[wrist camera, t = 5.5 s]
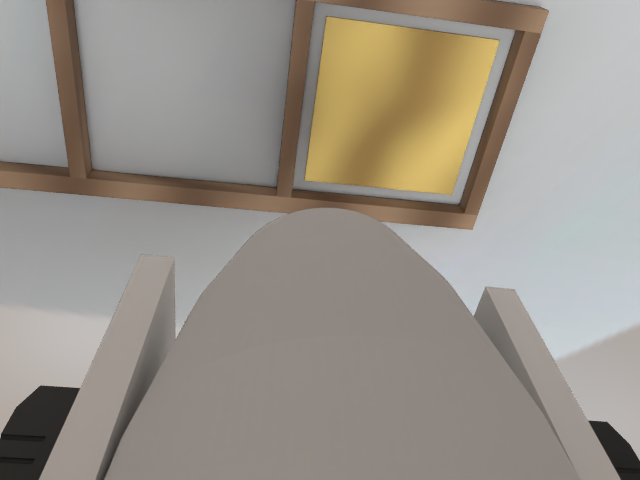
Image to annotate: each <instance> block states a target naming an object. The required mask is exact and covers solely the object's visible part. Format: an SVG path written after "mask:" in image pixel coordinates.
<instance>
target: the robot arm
mask: <svg viewBox="0 0 640 480" xmlns="http://www.w3.org/2000/svg"><path fill="white" fill-rule="evenodd" d="M474 318H475V319H476V321H477V322H478V323H479V325H480V326H481V328H482V329H483V330H484V332H485V333H486V335H487V336H488V337H489V339H490V340H491V342H492V343H493V344H494V346H495V347H496V349H497V350H498V351H499V353H500V354H501V355H502V357H503V358H504V360H505V361H506V362H507V364H508V365H509V367H510V368H511V369H512V371H513V372H514V374H515V375H516V376H517V378H518V379H519V381H520V382H521V383H522V385H523V386H524V387H525V389H526V390H527V392H528V393H529V394H530V396H531V397H532V399H533V400H534V401H535V403H536V404H537V406H538V407H539V408H540V410H541V411H542V413H543V414H544V416H545V418H546V419H547V421H548V423H549V425H550V427H551V428H552V430H553V432H554V434H555V435H556V437H557V439H558V441H559V443H560V444H561V446H562V448H563V450H564V452H565V453H566V455H567V457H568V459H569V460H570V462H571V464H572V466H573V468H574V469H575V471H576V473H577V475H578V477H579V478H580V480H640V461H639V459H638V457H637V456H636V454H635V452H634V451H633V449H632V447H631V446H630V444H629V443H628V442H627V441H626V440H625V439H624V438H623V437H622V436H621V435H620V434H619V433H618V432H617V431H616V430H615V429H614V428H613V427H612V426H611V425H610V424H609V423H607V422H601V421H588V420H587V418H586V416H585V415H584V413H583V411H582V409H581V407H580V406H579V404H578V402H577V400H576V398H575V397H574V395H573V393H572V391H571V389H570V388H569V386H568V384H567V382H566V381H565V379H564V377H563V375H562V373H561V372H560V370H559V368H558V366H557V364H556V363H555V361H554V359H553V357H552V355H551V354H550V352H549V350H548V348H547V347H546V345H545V343H544V341H543V339H542V338H541V336H540V334H539V332H538V330H537V329H536V327H535V325H534V323H533V321H532V320H531V318H530V316H529V314H528V313H527V311H526V309H525V307H524V305H523V304H522V302H521V300H520V298H519V296H518V295H517V293H516V291H515V289H506V288H496V287H485V289H484V292H483V295H482V297H481V300H480V302H479V305H478V307H477V310H476V312H475V315H474ZM175 340H176V339H175V275H174V257H164V256H153V255H142V254H141V256H140V258H139V260H138V262H137V265H136V267H135V269H134V271H133V273H132V276H131V278H130V280H129V282H128V284H127V287H126V289H125V291H124V293H123V295H122V298H121V300H120V302H119V304H118V306H117V309H116V311H115V313H114V315H113V317H112V320H111V322H110V324H109V327H108V329H107V331H106V333H105V335H104V337H103V340H102V342H101V344H100V346H99V348H98V350H97V353H96V355H95V357H94V359H93V361H92V364H91V366H90V368H89V371H88V373H87V375H86V377H85V379H84V381H83V384H82V386H81V388H69V387H54V386H40V387H38V388H37V389H36V390H35V391H34V392H33V393H32V394H31V395H30V396H29V397H27V398H26V399H25V400H24V401H23V402H22V403H21V404H19V405H18V406H17V407H16V409H15V410H14V412H13V414H12V416H11V417H10V419H9V421H8V423H7V425H6V426H5V428H4V430H3V432H2V433H1V438H0V480H104V479H105V476H106V474H107V471H108V469H109V466H110V464H111V462H112V459H113V457H114V454H115V452H116V450H117V447H118V445H119V442H120V440H121V438H122V436H123V434H124V432H125V430H126V429H127V427H128V425H129V423H130V421H131V420H132V418H133V416H134V414H135V412H136V410H137V409H138V407H139V405H140V403H141V401H142V400H143V398H144V396H145V394H146V392H147V391H148V389H149V387H150V385H151V383H152V381H153V380H154V378H155V376H156V374H157V372H158V371H159V369H160V367H161V365H162V363H163V362H164V360H165V358H166V356H167V354H168V352H169V351H170V349H171V347H172V345H173V343H174V342H175Z"/></svg>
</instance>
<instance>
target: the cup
mask: <svg viewBox="0 0 640 480" xmlns="http://www.w3.org/2000/svg"><path fill="white" fill-rule="evenodd" d="M104 480H580V478H579V477H578V475H577V473H576V471H575V469H574V468H573V466H572V464H571V462H570V460H569V459H568V457H567V455H566V453H565V452H564V450H563V448H562V446H561V444H560V443H559V441H558V439H557V437H556V435H555V434H554V432H553V430H552V428H551V427H550V425H549V423H548V421H547V419H546V418H545V416H544V414H543V413H542V411H541V410H540V408H539V407H538V406H537V404H536V403H535V401H534V400H533V399H532V397H531V396H530V394H529V393H528V392H527V390H526V389H525V387H524V386H523V385H522V383H521V382H520V381H519V379H518V378H517V376H516V375H515V374H514V372H513V371H512V369H511V368H510V367H509V365H508V364H507V362H506V361H505V360H504V358H503V357H502V355H501V354H500V353H499V351H498V350H497V349H496V347H495V346H494V344H493V343H492V342H491V340H490V339H489V337H488V336H487V335H486V333H485V332H484V330H483V329H482V328H481V326H480V325H479V323H478V322H477V321H476V319H475V318H474V317H473V315H472V314H471V312H470V311H469V310H468V308H467V307H466V305H465V304H464V303H463V301H462V300H461V298H460V297H459V296H458V294H457V293H456V291H455V290H454V289H453V287H452V286H451V285H450V284H449V282H448V281H447V280H446V279H445V278H444V277H443V276H442V275H441V274H440V273H439V272H438V271H436V270H435V269H434V268H433V267H432V266H431V265H430V264H429V263H428V262H427V261H425V260H424V259H423V258H422V257H421V256H420V255H419V254H418V253H417V252H415V251H414V250H413V249H412V248H411V247H410V246H409V245H408V244H407V243H406V242H404V241H403V240H402V239H401V238H400V237H399V236H398V235H397V234H396V233H395V232H393V231H392V230H391V229H390V228H388V227H387V226H386V225H384V224H383V223H381V222H379V221H378V220H376V219H374V218H372V217H370V216H367V215H364V214H362V213H359V212H355V211H351V210H346V209H339V208H313V209H306V210H301V211H297V212H293V213H290V214H287V215H284V216H282V217H280V218H277V219H275V220H273V221H272V222H270V223H268V224H267V225H265V226H263V227H262V228H261V229H259V230H258V231H257V232H256V233H255V234H254V235H252V236H251V237H250V239H249V240H248V241H247V242H246V243H245V244H244V245H243V246H242V248H241V249H240V250H239V251H238V252H237V253H236V255H235V256H234V257H233V258H232V259H231V260H230V261H229V263H228V264H227V265H226V266H225V267H224V268H223V269H222V271H221V272H220V273H219V274H218V275H217V276H216V278H215V279H214V280H213V281H212V282H211V283H210V284H209V286H208V287H207V288H206V289H205V290H204V292H203V293H202V294H201V296H200V297H199V299H198V300H197V302H196V303H195V305H194V307H193V309H192V311H191V313H190V314H189V316H188V318H187V320H186V322H185V323H184V325H183V327H182V329H181V331H180V332H179V335H178V336H177V338H176V340H175V342H174V343H173V345H172V347H171V349H170V351H169V352H168V354H167V356H166V358H165V360H164V362H163V363H162V365H161V367H160V369H159V371H158V372H157V374H156V376H155V378H154V380H153V381H152V383H151V385H150V387H149V389H148V391H147V392H146V394H145V396H144V398H143V400H142V401H141V403H140V405H139V407H138V409H137V410H136V412H135V414H134V416H133V418H132V420H131V421H130V423H129V425H128V427H127V429H126V430H125V432H124V434H123V436H122V438H121V440H120V442H119V445H118V447H117V450H116V452H115V454H114V457H113V459H112V462H111V464H110V466H109V469H108V471H107V474H106V476H105V479H104Z"/></svg>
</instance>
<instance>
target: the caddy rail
mask: <svg viewBox="0 0 640 480" xmlns="http://www.w3.org/2000/svg"><path fill="white" fill-rule="evenodd" d="M315 2H322V3H329V4H336V5H343V6H351V7H358V8H365V9H372V10H379V11H386V12H393V13H400V14H407V15H414V16H421V17H428V18H436V19H443V20H450V21H457V22H464V23H471V24H478V25H485V26H492V27H499V28H506V29H513V30H516V32H515V35H514V38H513V42H512V45H511V48H510V51H509V54H508V57H507V60H506V63H505V66H504V69H503V72H502V75H501V79H500V82H499V85H498V88H497V91H496V94H495V97H494V100H493V103H492V106H491V109H490V112H489V116H488V119H487V122H486V125H485V128H484V131H483V134H482V137H481V140H480V143H479V146H478V149H477V152H476V156H475V159H474V162H473V165H472V168H471V171H470V174H469V177H468V180H467V183H466V186H465V189H464V193H463V196H462V199H461V202H460V205H450V204H440V203H429V202H419V201H408V200H398V199H387V198H377V197H366V196H356V195H345V194H335V193H324V192H314V191H303V190H293V189H292V185H293V177H294V169H295V160H296V152H297V144H298V136H299V127H300V119H301V111H302V103H303V94H304V86H305V78H306V70H307V61H308V53H309V45H310V37H311V28H312V20H313V12H314V4H315ZM46 6H47V13H48V20H49V27H50V35H51V42H52V49H53V56H54V64H55V71H56V78H57V85H58V93H59V100H60V107H61V114H62V121H63V129H64V136H65V143H66V150H67V158H68V165H69V168H62V167H52V166H41V165H31V164H20V163H10V162H0V187H1V188H12V189H23V190H34V191H45V192H56V193H67V194H79V195H90V196H101V197H112V198H123V199H134V200H146V201H157V202H168V203H179V204H190V205H201V206H212V207H224V208H235V209H246V210H257V211H268V212H279V213H293V212H297V211H301V210H306V209H313V208H339V209H346V210H351V211H355V212H359V213H362V214H364V215H367V216H370V217H372V218H374V219H376V220H378V221H380V222H391V223H402V224H413V225H424V226H436V227H447V228H458V229H469V230H473V227H474V224H475V221H476V218H477V215H478V212H479V210H480V207H481V204H482V201H483V198H484V195H485V192H486V190H487V187H488V184H489V181H490V178H491V175H492V172H493V170H494V167H495V164H496V161H497V158H498V155H499V152H500V150H501V147H502V144H503V141H504V138H505V135H506V132H507V130H508V127H509V124H510V121H511V118H512V115H513V112H514V110H515V107H516V104H517V101H518V98H519V95H520V92H521V90H522V87H523V84H524V81H525V78H526V75H527V73H528V70H529V67H530V64H531V61H532V58H533V55H534V53H535V50H536V47H537V44H538V41H539V38H540V35H541V33H542V30H543V27H544V24H545V21H546V18H547V15H548V13H549V10H546V9H544V8H541V7H536V6H530V5H523V4H516V3H509V2H503V1H496V0H296V5H295V15H294V25H293V35H292V44H291V54H290V64H289V73H288V83H287V93H286V102H285V112H284V122H283V132H282V141H281V151H280V161H279V170H278V180H277V188H272V187H261V186H251V185H241V184H230V183H220V182H209V181H199V180H188V179H178V178H167V177H157V176H146V175H136V174H125V173H115V172H104V171H94V170H92V165H91V156H90V147H89V138H88V129H87V120H86V111H85V102H84V93H83V84H82V76H81V67H80V58H79V49H78V40H77V31H76V22H75V13H74V4H73V0H46ZM499 42H500V40H496V39H488V38H481V37H474V36H467V35H459V34H452V33H445V32H438V31H430V30H423V29H416V28H409V27H401V26H394V25H387V24H380V23H372V22H365V21H358V20H351V19H343V18H336V17H329V16H326V23H325V31H324V38H323V46H322V53H321V61H320V68H319V76H318V83H317V90H316V98H315V105H314V113H313V120H312V128H311V135H310V143H309V150H308V157H307V165H306V172H305V180H306V181H316V182H326V183H336V184H346V185H357V186H367V187H377V188H387V189H397V190H408V191H418V192H428V193H438V194H449V195H452V193H453V189H454V186H455V183H456V180H457V176H458V173H459V170H460V167H461V164H462V160H463V157H464V154H465V151H466V148H467V144H468V141H469V138H470V135H471V132H472V128H473V125H474V122H475V119H476V115H477V112H478V109H479V106H480V103H481V99H482V96H483V93H484V90H485V87H486V83H487V80H488V77H489V74H490V71H491V67H492V64H493V61H494V58H495V54H496V51H497V48H498V45H499Z"/></svg>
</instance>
